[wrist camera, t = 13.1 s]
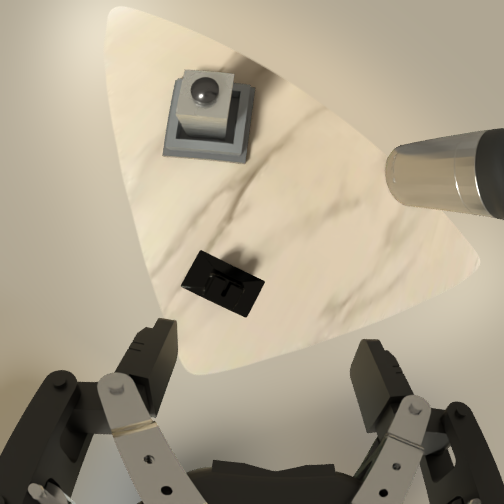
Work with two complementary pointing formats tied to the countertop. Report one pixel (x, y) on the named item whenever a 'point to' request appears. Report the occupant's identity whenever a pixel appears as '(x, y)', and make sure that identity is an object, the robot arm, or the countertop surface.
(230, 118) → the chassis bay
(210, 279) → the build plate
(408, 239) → the countertop surface
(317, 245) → the countertop surface
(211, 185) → the countertop surface
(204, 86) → the knobbed grey block
